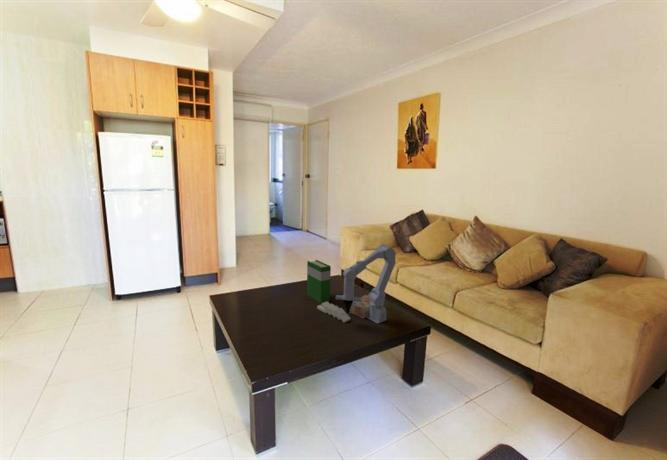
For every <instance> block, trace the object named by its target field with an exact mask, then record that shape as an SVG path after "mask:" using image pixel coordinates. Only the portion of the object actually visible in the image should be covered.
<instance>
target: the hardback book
mask: <svg viewBox="0 0 667 460" xmlns="http://www.w3.org/2000/svg"><path fill="white" fill-rule="evenodd" d="M306 263H307V265H306V268H307V270H306V271H307V273H306V275H307V276H306V281H307V282H306V295H308V297H310V298H312V299H314V300H315V301H317V302H318V303H319V304H320V303H321V304H322V303H324V302H327V301H328V302H331V269H332V268H331V265H329V264H327V263H325V262H322V261H320V260H318V259H315V261H310V260H307V262H306Z"/></svg>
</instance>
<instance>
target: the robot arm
mask: <svg viewBox="0 0 667 460" xmlns="http://www.w3.org/2000/svg"><path fill="white" fill-rule="evenodd" d="M396 255H397V252H396V251H395V249H394V248H393V247H390V246H388V245H386V244H385V243H383V244H380V246H378V247H376V249H375V250H373V252H371V253H370V254H369V255H368V256H366V257H365V258H364V259H363V260H357V261H356V262H355V263H354V264H352V266H349V267H347V268H345V269H344V271H343V272H342V277H344V278H343V294H342V295H340V294H339V295H338V294H336V295H335V300H337V301H338V300H339V301H340V300H342V301H343V304H344V308H345V310H346V311H345V313H346V314H350V313H349V312H350V307H351V305H352V303H353V301H357V302H361V298H360V297H359V296H355V280H356V278H357V277H358V275H360V273H362V272H363V271H364V270H365V269H367V266H368V265H369V264H372V262H374V261H376V260H377V259H383V260H384V262H385V263H384V265H383V267H382V270H381V273H380V276H379V278H378V279H377V280H378V281H377V282H376V286H374V287H373V288H372V289H371V292H369V293H368V294H369V299H370V315H369V316H367V317H365V318H366V319H368V320H370V321H372V322H374V323H376V324H381V323H383V322H385V321H387V308H386V307H384V304H385V302H386V301H385V298H386V292H385V291H386V288H387V285H388V283H389V280H390V278H391V276H392V273H393V270H394V269H395V268H394V267H395V266H396V265H395V264H396Z"/></svg>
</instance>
